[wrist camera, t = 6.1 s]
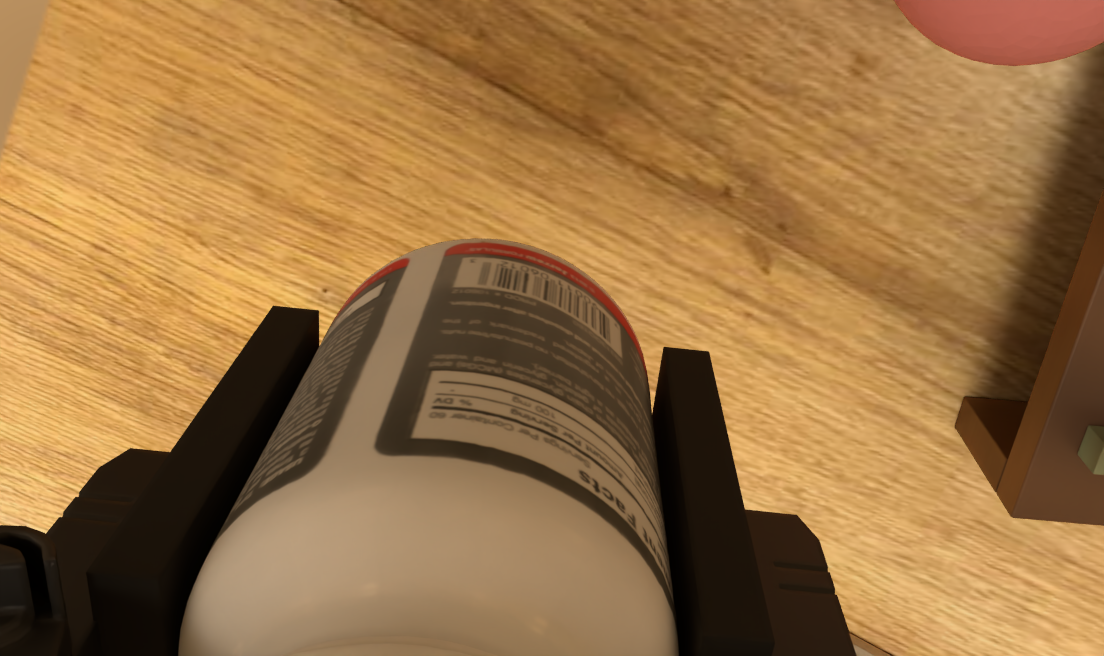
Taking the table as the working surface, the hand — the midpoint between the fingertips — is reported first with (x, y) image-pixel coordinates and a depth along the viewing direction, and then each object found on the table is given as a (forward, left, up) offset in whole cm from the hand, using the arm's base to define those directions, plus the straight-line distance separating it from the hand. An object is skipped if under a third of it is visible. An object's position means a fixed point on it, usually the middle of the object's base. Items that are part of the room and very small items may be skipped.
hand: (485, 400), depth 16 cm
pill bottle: (0, 0, -1) cm, 1 cm away
